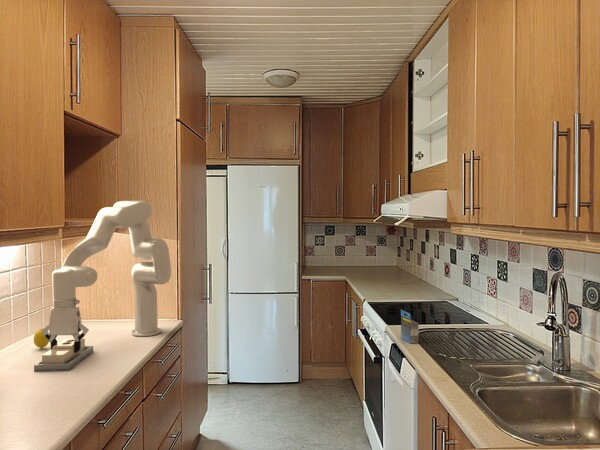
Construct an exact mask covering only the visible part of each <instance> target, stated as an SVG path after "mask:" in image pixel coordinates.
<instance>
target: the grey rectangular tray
mask: <svg viewBox="0 0 600 450" xmlns="http://www.w3.org/2000/svg"><path fill="white" fill-rule="evenodd" d="M92 353H94V345H85V349H84V350H83V351H81V352H80V353H78V354H77V355H75V356H74V357H73V358H71V359H70V360H68V361H67V362H65V363H64V364H42V359H41V360H39V361H38V362H36V363H35V364H34V365H33V372H67V371H68V372H70V370H72V369H73V368H75V367H76V366H77V365H78V364H79V363H81V362H82V361H84V360H85V359H86V358H87V357H89V356H90V355H91V354H92Z"/></svg>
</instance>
